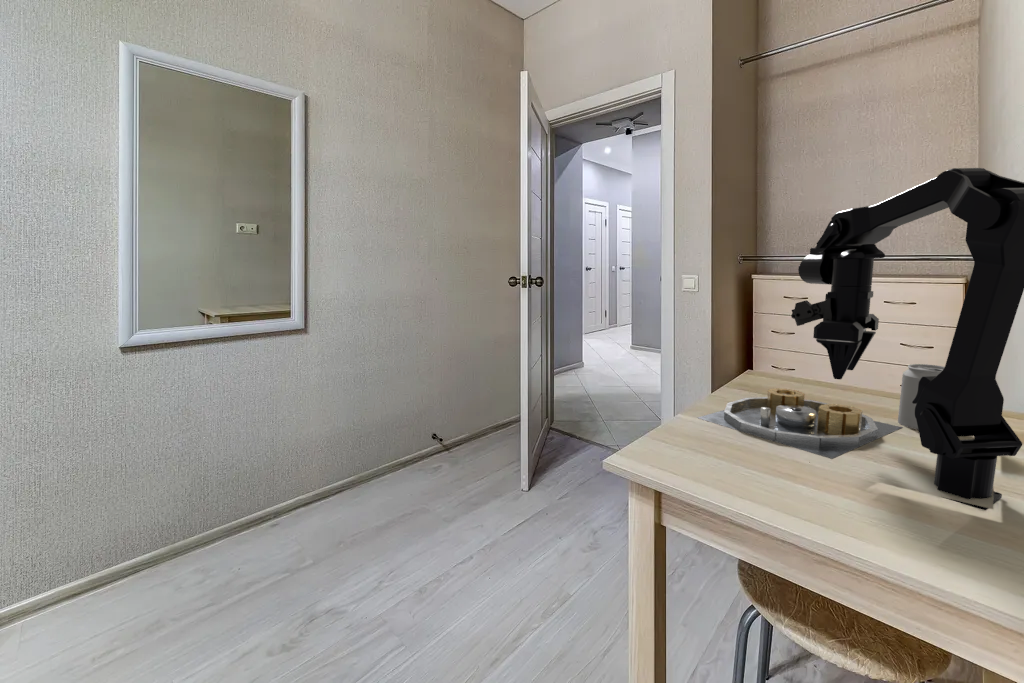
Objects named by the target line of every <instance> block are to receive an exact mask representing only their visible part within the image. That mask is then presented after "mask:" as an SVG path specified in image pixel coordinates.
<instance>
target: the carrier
mask: <svg viewBox="0 0 1024 683" xmlns="http://www.w3.org/2000/svg"><path fill="white" fill-rule="evenodd" d="M785 395H789V394H785ZM767 397H768V396H759V397H758V396H756V397H744V398H741V399H736V400H734V401H730V402H727V403H726V406H725V409H722V410H720V411H716V412H712V413H709V414H708V413H707V414H706V415H705V414H704V415H702V416H698V417H696V418H697V419H699V420H702V421H706V422H709V423H711V424H716V425H718V426H723V427H724V428H725V427H726V428H729V429H733V430H735V431H738V432H741V433H745V434H748V435H751V436H755V437H758V438H762V439H765V440H767V441H768V440H769V441H770V442H771V441H772V442H774V443H778V444H781V445H785V446H788V447H792V448H794V449H798V450H801V451H804V452H807V453H811V454H813V455H814V454H815V455H818V456H821V457H824V458H827V459H831V460H833V459H835V458H838V457H839V456H842V455H844V454H847V453H849V452H850V451H853V450H855V449H857V448H860V447H863V446H864V445H867V444H869V443H872V442H873V441H876V440H878V439H881V438H883V437H885V436H887V435H889V434H892V433H894V432H897V431H898V430H900V429H903V428H904V426H899V425H895V424H894V425H893V424H890V423H885V422H880V421H876V420H873V418H872V417H871V416H868V415H865V414H863V413H862V421H861V432H859V433H856V434H854V435H832V434H828V433H824V432H822V431H821V430H819V429H818V428H817V425H818V412H819V407H820V406H821V405H824V404H829V403H828V402H822V401H817V400H812V399H805V398H804V406H805V407H809V408H812V409H814V410H815V411H816V424H815V426H814V427H811V428H795V427H789V426H785V425H782V424H779V423H777V422H776V420H775V418H776V414H774V413H771V412H770V410H771V409H770V408H768V407H767Z"/></svg>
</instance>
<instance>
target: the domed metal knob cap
mask: <svg viewBox="0 0 1024 683" xmlns="http://www.w3.org/2000/svg"><path fill="white" fill-rule="evenodd" d="M775 420H776V422H777V423H779V424H782V425H785V426H789V427H795V428H811V427H814V426H815V424H816V411H815V410H814V409H812V408H809V407H805V406H799V405H779V406H777V407H776V418H775Z"/></svg>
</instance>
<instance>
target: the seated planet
mask: <svg viewBox="0 0 1024 683" xmlns="http://www.w3.org/2000/svg"><path fill="white" fill-rule="evenodd" d="M785 394H789V395H785ZM805 395H806V394H805V393H803V391H800V390H795V389H792V388H789V389H788V388H780V387H779V388H771V389H768V390H767V396H766V397H767V407H768V408H770V409H771V410H770V412H771V413H774V414H776V407H777V406H779V405H799V406H804V399H805Z"/></svg>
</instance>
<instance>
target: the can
mask: <svg viewBox="0 0 1024 683" xmlns="http://www.w3.org/2000/svg"><path fill="white" fill-rule="evenodd" d="M944 367H945V365H944V366H943V365H935V364H928V363H927V364H925V363H921V364H920V363H918V364H917V363H913V364H912V363H911V364H908V365H907V369H906V370H905V371H903V372H902V378H901V387H900V395H899V396H900V397H899V405H898V415H897V423H898V424H899V425H901V426H902V427H906V428H908V429H909V428H910V429H913V430H918V425H917V420H916V418H915V406H916V404H913V403H912V401H913V400H914V399H915V397H916V395H917V392H918V384H919V381H920V379H921V378H922V377H925V376H937V375H938V374H939V373H940V372H941V371H942V370H943V369H944ZM918 431H919V430H918Z"/></svg>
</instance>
